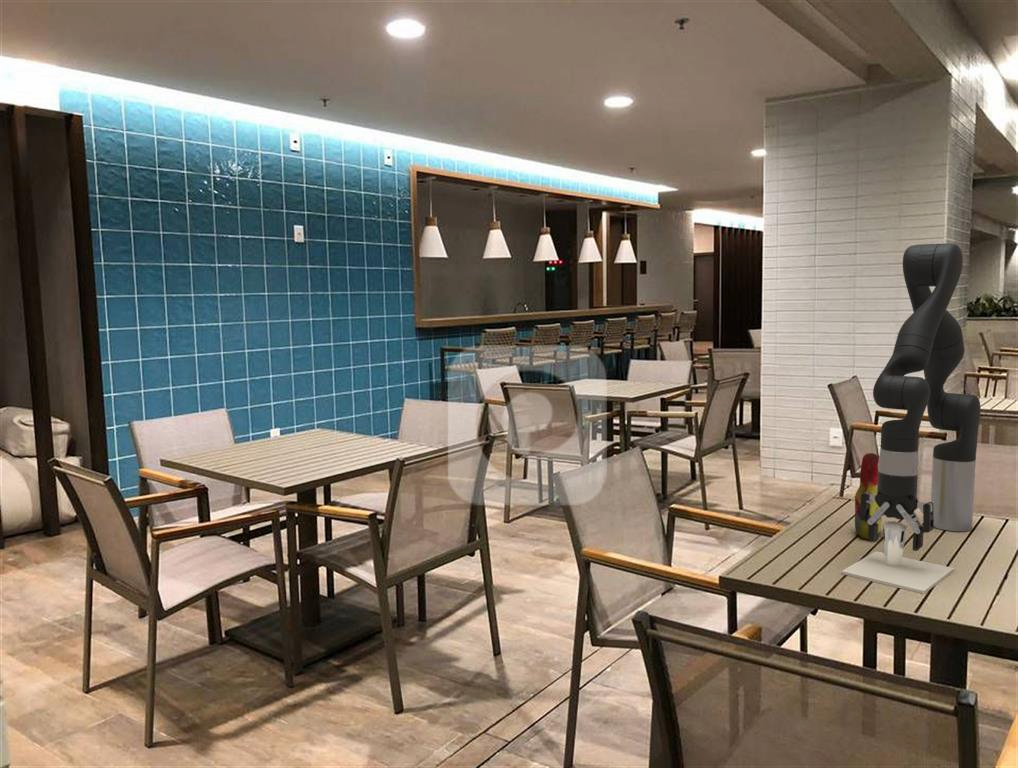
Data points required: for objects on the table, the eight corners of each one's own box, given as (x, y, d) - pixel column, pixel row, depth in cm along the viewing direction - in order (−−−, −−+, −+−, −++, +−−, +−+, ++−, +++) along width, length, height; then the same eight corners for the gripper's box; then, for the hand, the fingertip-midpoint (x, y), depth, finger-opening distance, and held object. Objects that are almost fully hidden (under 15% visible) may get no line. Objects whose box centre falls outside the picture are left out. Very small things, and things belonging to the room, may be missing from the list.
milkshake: (912, 568, 167) (914, 521, 166) (884, 566, 168) (886, 520, 167) (905, 561, 171) (907, 515, 170) (879, 559, 172) (880, 514, 171)
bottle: (879, 543, 186) (882, 459, 183) (849, 539, 189) (852, 456, 187) (884, 530, 196) (887, 450, 194) (856, 526, 199) (859, 447, 197)
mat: (875, 553, 178) (875, 551, 178) (954, 570, 167) (954, 568, 167) (841, 573, 166) (841, 571, 166) (923, 593, 154) (924, 590, 154)
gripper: (940, 472, 165) (936, 549, 167) (870, 463, 175) (867, 535, 177) (928, 478, 160) (924, 557, 162) (856, 468, 170) (853, 542, 172)
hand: (894, 545), depth 169 cm, fingers open, 8 cm apart
